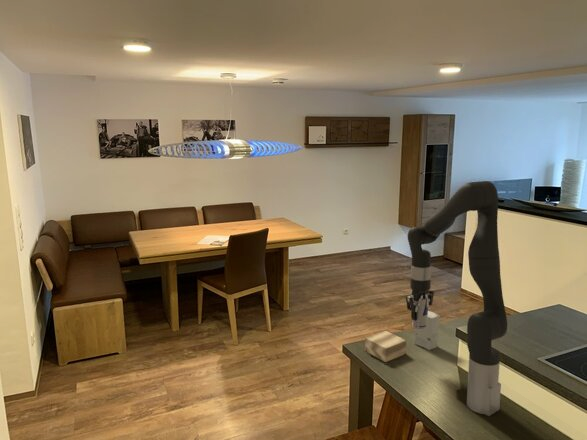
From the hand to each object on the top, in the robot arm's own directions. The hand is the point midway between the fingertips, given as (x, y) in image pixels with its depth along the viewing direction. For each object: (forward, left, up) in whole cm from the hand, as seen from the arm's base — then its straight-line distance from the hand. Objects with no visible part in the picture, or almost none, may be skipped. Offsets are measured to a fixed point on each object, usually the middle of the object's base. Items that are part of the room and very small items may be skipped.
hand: (419, 318), depth 173 cm
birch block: (+14, +4, -19) cm, 24 cm away
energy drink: (0, 0, -4) cm, 4 cm away
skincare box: (+8, -15, -19) cm, 26 cm away
